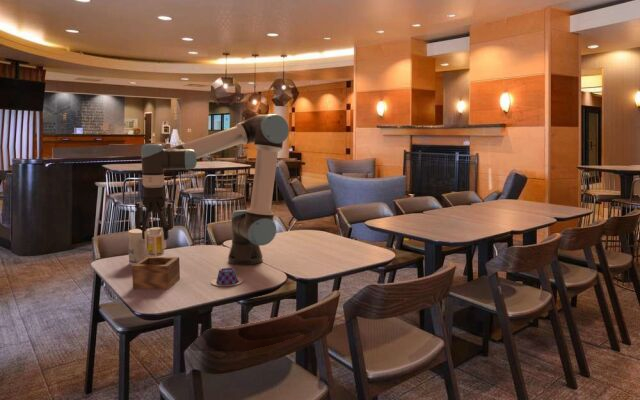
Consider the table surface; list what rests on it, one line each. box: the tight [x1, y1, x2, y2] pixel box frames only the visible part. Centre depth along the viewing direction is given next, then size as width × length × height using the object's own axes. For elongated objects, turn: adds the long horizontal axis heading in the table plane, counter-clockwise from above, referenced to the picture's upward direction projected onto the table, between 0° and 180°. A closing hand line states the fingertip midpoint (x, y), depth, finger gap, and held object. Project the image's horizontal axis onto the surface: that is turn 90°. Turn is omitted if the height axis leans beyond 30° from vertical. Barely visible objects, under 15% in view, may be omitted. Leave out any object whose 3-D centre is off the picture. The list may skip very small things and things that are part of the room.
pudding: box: [210, 267, 244, 287], centre depth 181 cm, size 12×12×5 cm
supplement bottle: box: [147, 226, 165, 257], centre depth 177 cm, size 6×6×10 cm
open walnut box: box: [131, 256, 181, 290], centre depth 179 cm, size 13×13×8 cm
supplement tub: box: [127, 228, 152, 266], centre depth 205 cm, size 10×10×15 cm
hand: (155, 247), depth 178 cm, fingers closed on supplement bottle, 6 cm apart
